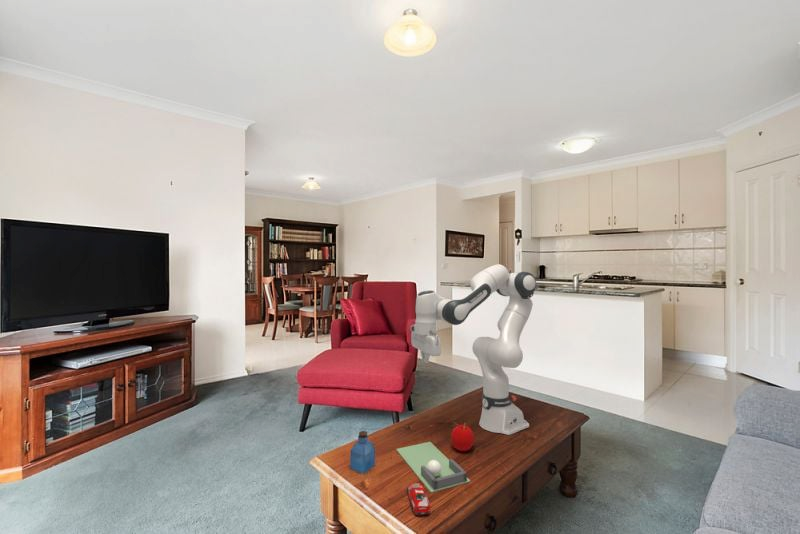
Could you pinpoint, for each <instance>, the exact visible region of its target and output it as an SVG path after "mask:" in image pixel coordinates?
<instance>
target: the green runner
mask: <svg viewBox="0 0 800 534" xmlns="http://www.w3.org/2000/svg"><path fill="white" fill-rule="evenodd" d="M395 450H396V452H397V453H398V454H399V455H400V456H401V458H402V459H403V460H404V461H405V463H406V464H407V465H408V466H409V467H410V469H411V470H412V471H413V473H414V474H415V475H416V476H417V477H418V479H419V480H420V481H421V483H422V485H423V486H425V488H426V490H428V491H429V492H430V493H431V494H432V493H435V492H440V491H442V490H445V489H449V488H452V487H457V486H460V485H464V484H466V483H470V482H471V480H470V479H469V477H467V481H465V482H462V483H458V484H455V485H451V486H447V487H444V488H440V489H437V490H433V488H432V487H431V486H430V485H429V484H428V482H427V481H426V480H425V479H424V478H423V476H422V475H421V466H425V467H426V468H427V464H428V463H429V461H431V460H436V461H438V462H439V463H440V465H441V473H440V474H439V475H438V476H437V477H435V479H437V478H440V477H444V476H448V475H452V474H455V473H454V472H453V471H452V470H451V469H450V468H449V458H447V457H448V456H447V457H446V456H445V454H443V453H442V452H441V451H440V450H439V449H438V448H437V447H436V446H435V445H434V444H433V443H432V442H431V441H427V442H422V443H418V444H412V445H409V446H404V447H399V448H396V449H395Z"/></svg>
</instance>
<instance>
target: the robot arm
mask: <svg viewBox="0 0 800 534" xmlns="http://www.w3.org/2000/svg"><path fill="white" fill-rule="evenodd" d="M469 284H470V289H471V291H470V292H469V293H468V294H467V295H465V296H464V297H463V298H461V299H450V298H445V297H443V296H441V295H440V294H437V293H436V292H435V291H434V290H422V291H420V292H418V293H417V295H416V298H415V316H416V317H415V321H414V322H415V323H414V324H412V325H410V331H411V335H410V337H411V338H410V340H411V341H410V342H411V343H410V344H411V345H412V347H413V348H415V349H417V350H418V351H420V355H421V361H422V362H424V363H426V364H428V363H430V357H440V356H441V354H442V352H441V351H442V349H441V339H440V336H439V334H438V333H437V322H438V321H439V320H440V321H442V322H445V323H448V324H450V325H452V326H457V325H461V324H462V323H464V322H465V321H466V320H467V318H468V316H469V315H470V314H471V313H472V312H473V311H474V310H475V309H477V308H478V307H479V306H481V304H482V303H484V302H485V301H486V300H488V298H489V297H490V296H491V294H493V293H495V292H496V293H497V294H498V295H500V296H502V297H509V300H508V304H507V305H506V307H505V309H504V310H503V312H502V314H501V316H500V317H499V319H498V321H497V329H498V330H499V332H500V333H499V337H498V338H495V337H494V338H493V337H490V336H479V337H476V339H474V341H473V343H472V352H473V355H474V356H475V357H476V358H477V360H478V363H479V366H480V369H481V373H482V385H483V387H482V388H483V389H482V391H483V392H481V393H482V394H481V402H482V403H481V404H482V407H481V408H482V409H481V414H480V419H479V423H478V425H479V427H481V428H482V429H483V430H486V431H488V432H491V433H498V434H504V435H507V436H510V435H513V434H515V433H518V432H520V431H522V430H524V429H528V428H530V423H529V422H528V421H527V420H525V418H524V414H523V413H524V412H523V410H521V409H520V408H519V407H517V406H516V404H514V403H513V402H515V401H516V400H517V397H516V396H515V395H510V394H509V393H510V391H509V389H510V384H509V380H510V379H509V377H508V375H507V374H506V372H505V371H504V369H503V368H509V369H516V368H518V367H519V366H520V365H521V363H522V362H523V360H524V358H523V357H524V352H523V351H522V349H521V348H522V347H520V338H521V334H522V332H523V330H524V327H525V326H526V324H527V322H528V320H529V318H530V315H531V312H532V309H533V305H534V303H533V300H532V299H531V298H532V297H533V296H534V294H535V291H536V288H537V279H536V277H535V276H534V274H532V273H530V272H528V271H520V272H519V271H518V272H511V273H510V272H509V270H508V269H507V267H506V266H504V265H503V264H499V263H497V264H493V265H491V266H489V267H487V268H484V269H482V270H481V271H479V272H477V273H476V274H475V275H473V277H472V278H471V280H470V283H469ZM512 401H513V402H512Z"/></svg>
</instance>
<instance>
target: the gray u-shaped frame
mask: <svg viewBox="0 0 800 534" xmlns="http://www.w3.org/2000/svg"><path fill="white" fill-rule="evenodd" d="M448 459H449V458H448ZM449 468H450V469H451V470H452V471H453V472H454V473H455V474H452V475H448V476H444V477H440V478H437V479H435V477H434V476H433V475H432V474H431V473H430V472H429V471H428V470H427V468H426V467H425V466H421V475H422V476H423V478H424V479H425V480H426V481H427V482H428V484H429V485H430V486H431V487H432V488H433V490H437V489H440V488H444V487H447V486H451V485H455V484H458V483H462V482H465V481H467V478H468V473H467V472H466V470H464V469H463V467H461V466H460V465H459V464H458V463H457V462H456V461H455V460H453V458H451V459H449Z"/></svg>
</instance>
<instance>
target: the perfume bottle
mask: <svg viewBox="0 0 800 534" xmlns="http://www.w3.org/2000/svg"><path fill="white" fill-rule="evenodd" d="M368 434H369V433H368V431H365V430H361V431H359V432H358V436H357V439H358V440H357V441H356V442H355V443H354V444H353V446H352V447H351V449H350V456H349V457H350V459H349V460H350V461H349V463H350V465H349V467H350V468H349V469H352V470H354V471H357V472H359V473H361V474H363V475H365V474H366V473H367V472H369V471H370V470H371V469H372V468H373V467H375V466H376V447H375V446H374V443H373V442H372V441H370V440H369V436H368Z"/></svg>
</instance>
